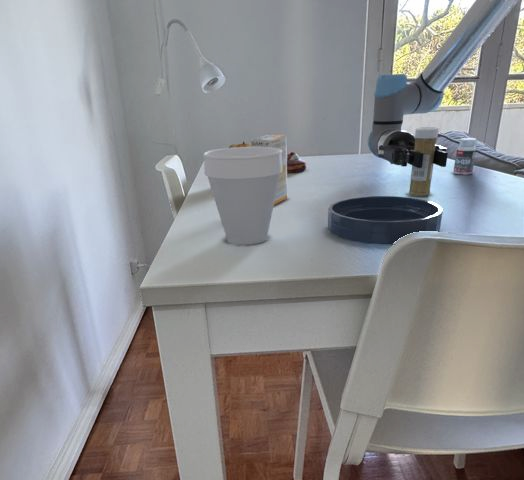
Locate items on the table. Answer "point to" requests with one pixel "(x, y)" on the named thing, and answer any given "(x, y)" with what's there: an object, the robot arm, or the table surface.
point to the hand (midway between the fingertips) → (432, 160)
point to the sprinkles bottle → (423, 176)
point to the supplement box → (281, 143)
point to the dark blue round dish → (382, 218)
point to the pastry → (295, 163)
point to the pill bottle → (465, 156)
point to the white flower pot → (244, 189)
